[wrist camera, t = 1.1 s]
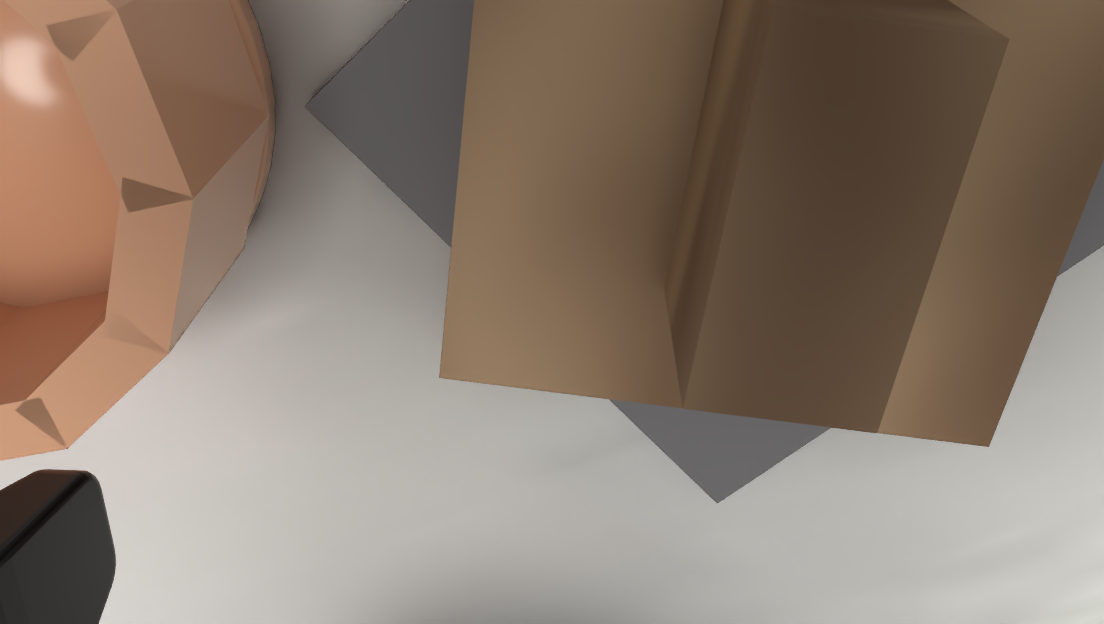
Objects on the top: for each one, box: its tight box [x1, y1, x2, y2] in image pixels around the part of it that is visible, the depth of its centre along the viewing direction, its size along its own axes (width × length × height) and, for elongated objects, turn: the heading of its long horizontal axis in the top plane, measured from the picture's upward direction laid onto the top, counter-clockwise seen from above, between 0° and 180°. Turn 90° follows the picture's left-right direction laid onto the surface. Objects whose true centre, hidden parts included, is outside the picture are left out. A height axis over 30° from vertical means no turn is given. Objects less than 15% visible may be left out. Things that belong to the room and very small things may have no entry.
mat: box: [305, 0, 1104, 503], centre depth 19 cm, size 12×12×1 cm
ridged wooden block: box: [439, 0, 1104, 447], centre depth 16 cm, size 11×11×5 cm
